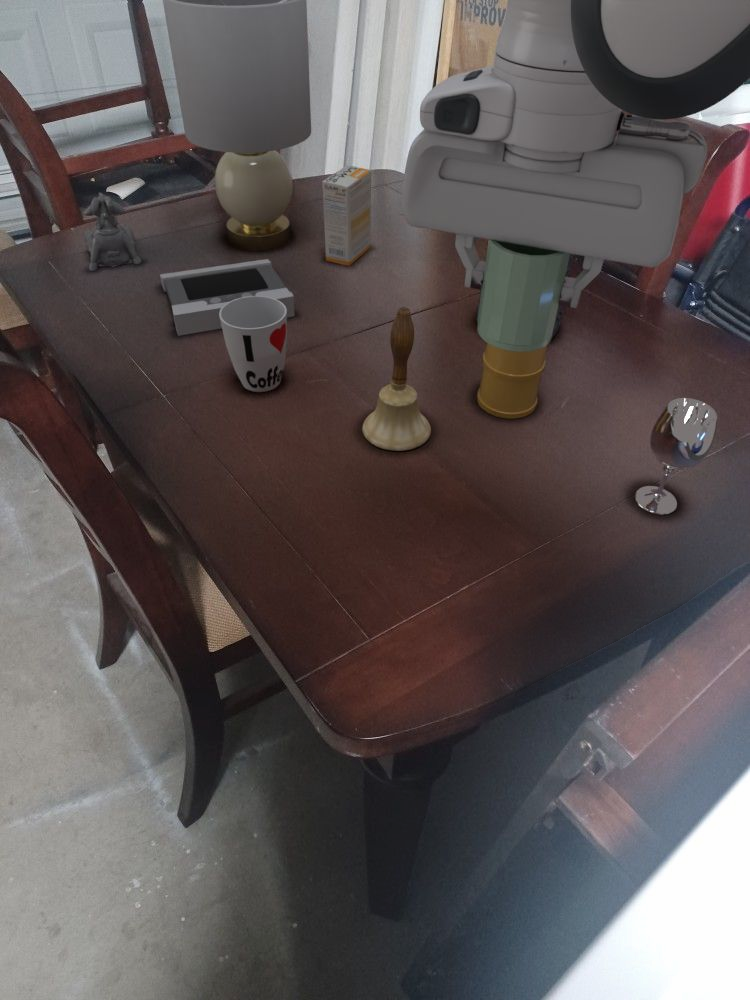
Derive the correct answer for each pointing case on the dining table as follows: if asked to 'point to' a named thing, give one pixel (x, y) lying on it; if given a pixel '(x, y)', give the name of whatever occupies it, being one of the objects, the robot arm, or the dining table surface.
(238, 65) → the lamp
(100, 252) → the figurine
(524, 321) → the sage cup
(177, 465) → the dining table surface
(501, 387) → the cup stack
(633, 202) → the robot arm
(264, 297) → the cup
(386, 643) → the dining table surface
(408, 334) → the hand bell
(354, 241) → the supplement box
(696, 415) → the wineglass
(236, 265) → the alarm clock
